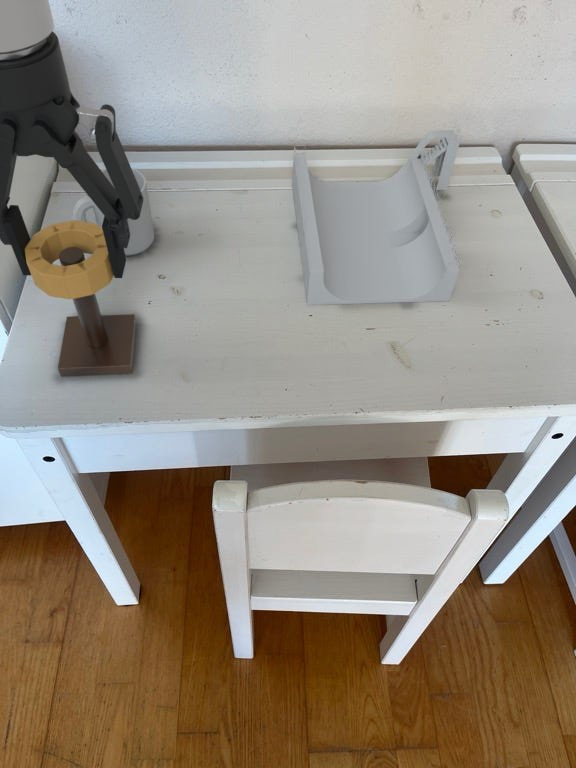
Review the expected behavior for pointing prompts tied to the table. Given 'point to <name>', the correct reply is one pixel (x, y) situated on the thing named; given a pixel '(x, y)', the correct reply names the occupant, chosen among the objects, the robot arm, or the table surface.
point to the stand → (95, 335)
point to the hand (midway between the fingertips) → (75, 267)
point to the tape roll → (73, 277)
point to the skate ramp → (378, 232)
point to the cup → (138, 228)
